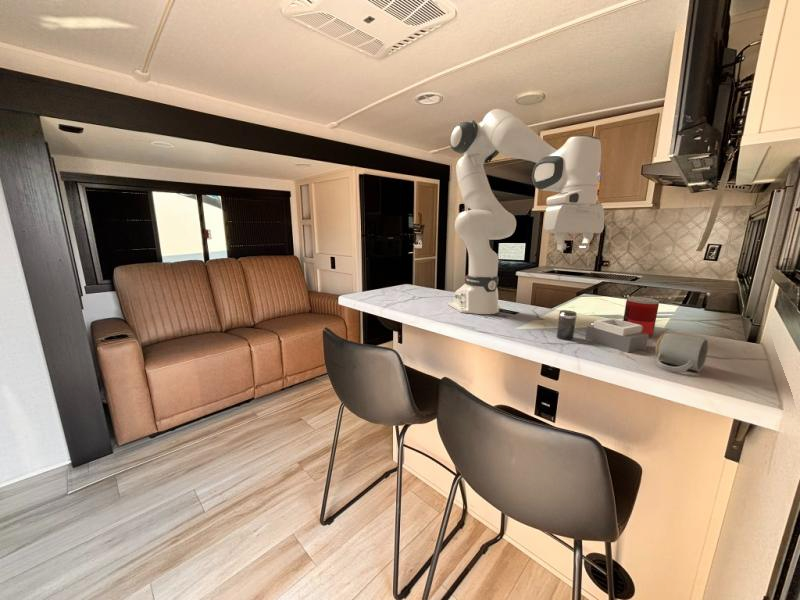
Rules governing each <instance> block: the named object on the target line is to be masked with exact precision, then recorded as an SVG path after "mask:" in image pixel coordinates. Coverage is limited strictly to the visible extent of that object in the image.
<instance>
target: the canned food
mask: <svg viewBox="0 0 800 600" xmlns="http://www.w3.org/2000/svg"><path fill="white" fill-rule="evenodd" d="M625 301H626V302H625V307H624V313H623V318H622V321H626V322H630V323H634V324H639V325H642V328H641V332H642V333H645V334H649V336H648V338H649V337H651V336H652V335H653V334H654V331H655V326H656V322H657V321H656V320H657V315H658V311H659V305H660V301H659V300H658V299H655V298H650V297H644V296H643V297H642V296H629V297H627V298H626V300H625Z"/></svg>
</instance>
